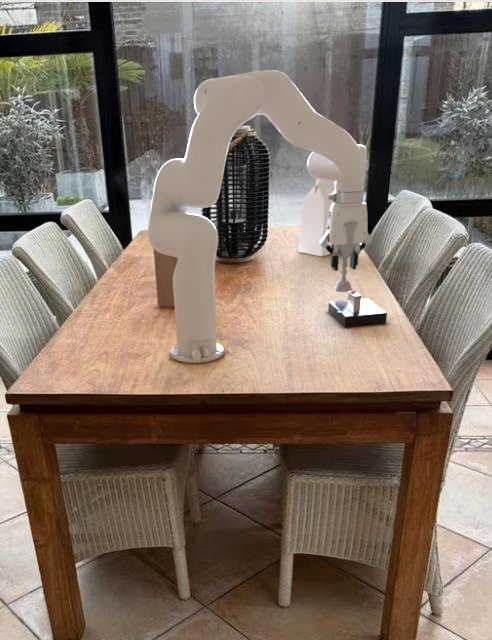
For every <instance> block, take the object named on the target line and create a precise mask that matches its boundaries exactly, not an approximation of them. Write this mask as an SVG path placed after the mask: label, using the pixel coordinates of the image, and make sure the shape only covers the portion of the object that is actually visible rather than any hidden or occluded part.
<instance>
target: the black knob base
mask: <svg viewBox="0 0 492 640" xmlns="http://www.w3.org/2000/svg"><path fill="white" fill-rule="evenodd" d="M347 306H348V299H345V300H344V299H343V300H334V301H328V309H327V312H328V314H329V315H330V316H331V317H332V318H333V319H335V320H336V321H337V322H338V323H339V325H341V326H342V327H343V328H344V329H348V328H349V329H350V328H358V327H359V328H360V327H371V326H380V325H382V326H383V325H386V324H387V317H388V313H387V312H386V311H385V310H384V309H382V308H381V307H380V306H379V305H377V304H376V303H375V302H373V301H372V300H370V299H369V298H368V297H367V298H361V305H360V313H354V314H353V313H352V312H351V311H350V310H348V309H347Z"/></svg>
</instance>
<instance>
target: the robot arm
mask: <svg viewBox="0 0 492 640" xmlns="http://www.w3.org/2000/svg"><path fill="white" fill-rule="evenodd" d="M193 104H194V105H193V106H194V110H195V113H196V114H197V116H196V117H195V119H194V120H193V121H194V122H193V124H192V126H191V129H190V133H189V137H188V143H187V147H186V152H185V155H184V158H172V159H170V160H167V161H166V162H165V163H164V164H163V165H162V166H161V167H160V169H159V170H158V173H157V175H156V177H155V181H154V186H153V192H152V198H151V205H150V211H149V219H148V227H147V235H148V240H149V243H150V245H151V247H152V249H153V248H154V249H155V250H156V251H157V252H159V253H161V254H165V255H169V256H173V257H177V258H178V261H177V265H176V268H175V271H174V275H173V291H174V305H175V308H174V318H175V333H176V334H175V335H176V345H175V346H173V347H172V348H171V349H170V356H171V358H173V359H174V360H176V361H178V362H181V363H189V364H198V363H199V364H200V363H206V362H212V361H215V360H217V359H219V358H221V357H222V356H223V355H224V352H225V351H224V346H223V345H222V344H220V343H218V339H217V338H218V336H217V334H218V333H217V305H216V302H217V301H216V270H215V269H216V259H217V250H218V245H219V233H218V229H217V228H216V226H215V224H214V223H213V221H211V220H210V219H209V218H208V217H206V216H203V215H201V214H197V213H189V212H187V209H188V208H189V207H190V208H195V209H196V208H197V209H207V208H210V207H212V206H214V205H215V204H216V202H217V201H218V199H219V196H220V192H221V188H222V183H223V177H224V174H225V173H224V172H225V167H226V162H227V157H228V152H229V147H230V143H231V141H232V139H233V136H234V135H235V133H236V132H237V131H238V130H239V128H240V127H241V126H243V125H244V124H245V123H246V122H248V121H250V120H252V119H253V118H254V117H255V116H257V115H259V116H261V115H263V116H264V117H266V118H267V119H268V120H269V122H270V123H272V125H273V126H274V127H275V129H276V130H278V132H279V133H280V134H281V135H282V137H283V138H284V139H285V140H286V141H287V142H288V143H289V144H291V145H293V146H294V147H296V148H300V149H302V150H306V151H309V152H311V153H310V154H309V156H308V158H307V161H306V167H307V171H308V173H309V175H310V176H311V177H312V178H314V179H316V180H317V179H320V180H333V182H334V184H335V187H334V191H333V194H330V195H329V200H333V202H334V203H333V204H331V207H330V211H329V216H328V223H327V231H326V234H325V235H324V237H323V238H322V239H321V241H320V243H319V244H320V245H321V246H323V247H324V248H325V249H326V250H327V251H328V252H329V253H330V254H329V255H330V267H331V269H332V271H334V272H338V271H339V260H340V256H339V255H338V249H339V245H344V244H347V243H346V239H347V235H346V234H347V233H346V230H347V229H346V227H345V226H344V225H343V224H355V223H358V224H357V225H356V227H355V231H354V242H353V243H354V244H356V246H355V248H354V250H353V252H352V254H351V256H350V257H349V268H350V269H352V270H357V266H358V265H359V256H360V254H361V252H362V251H363V250H364V249H365V248H366V246H367V245H369V244H370V243H371V242H372V241H373V238H372V237H371V235H370V234H369V231H368V207H367V206H368V205H367V203H366V202H364V196H365V195H364V193H365V180H366V169H367V156H368V153H367V152H368V151H367V147H366V146H365V145H363V144H357V142H356V140H355V139H354V138H353V137H352V135H351V134H350V133H349V132H348V131H346V130H345V129H344V128H342V127H341V126H340V125H338V124H336V123H335V122H333V121H332V120H330V119H328V118H327V117H325V116H324V115H322V114H320V113H318V112H317V111H316V110H315V109H314V108H313V106H312V105H311V104H310V103H309V101H308V100H307V99H306V98H305V96H304V95H303V93H302V92H301V91H300V89H299V88H298V87H297V86H296V84H295V83H294V82H293V81H292V79H291V78H290V77H289V76H288V74H286V73H285V72H284V71H281V70H278V69H277V70H276V69H272V70H271V69H268V70H259V71H257V70H256V71H249V72H244V73H239V74H234V75H233V74H232V75H226V76H222V77H221V76H219V77H214V78H208V79H205V80H204V81H202V82H201V83H199V85H198V87H197V88H196V90H195V93H194V96H193ZM327 241H328V242H330V243H331V244H332V245H331V246H330V245H328V244H327ZM154 249H153V250H154Z"/></svg>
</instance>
